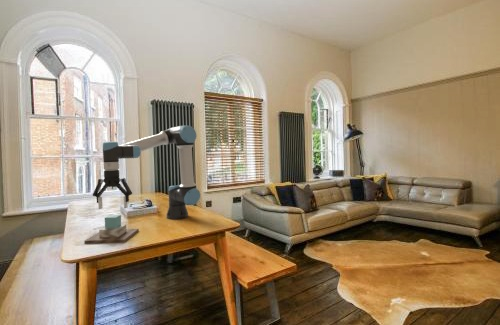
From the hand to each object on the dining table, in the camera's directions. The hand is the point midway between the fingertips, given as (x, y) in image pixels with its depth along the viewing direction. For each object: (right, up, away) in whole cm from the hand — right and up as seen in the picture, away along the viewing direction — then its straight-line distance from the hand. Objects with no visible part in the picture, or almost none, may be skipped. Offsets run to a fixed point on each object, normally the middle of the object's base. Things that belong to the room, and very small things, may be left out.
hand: (113, 208), depth 146 cm
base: (0, -16, 0) cm, 16 cm away
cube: (0, -10, 0) cm, 10 cm away
